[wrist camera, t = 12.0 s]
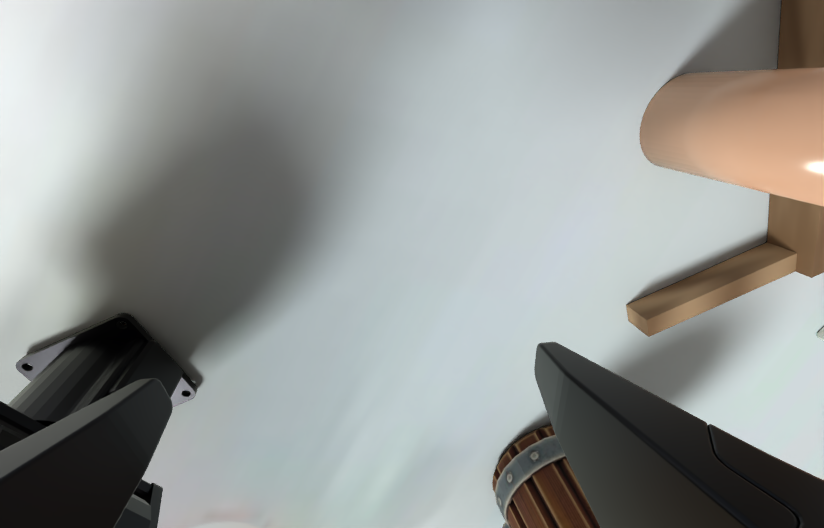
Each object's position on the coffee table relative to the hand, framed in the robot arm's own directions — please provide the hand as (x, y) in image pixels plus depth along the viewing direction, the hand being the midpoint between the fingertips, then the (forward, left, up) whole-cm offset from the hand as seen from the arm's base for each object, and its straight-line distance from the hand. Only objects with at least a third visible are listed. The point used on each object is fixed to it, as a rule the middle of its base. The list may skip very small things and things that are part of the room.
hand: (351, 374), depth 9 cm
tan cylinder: (+20, -3, -13) cm, 24 cm away
